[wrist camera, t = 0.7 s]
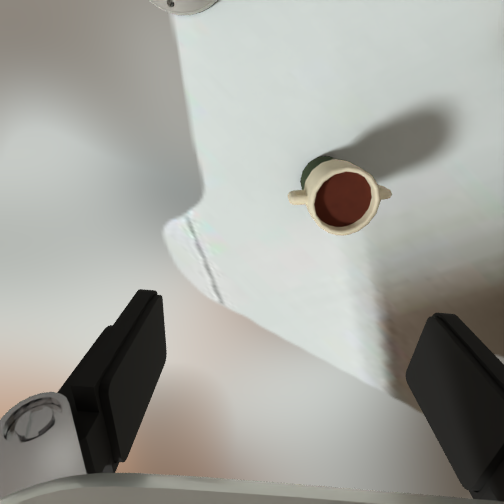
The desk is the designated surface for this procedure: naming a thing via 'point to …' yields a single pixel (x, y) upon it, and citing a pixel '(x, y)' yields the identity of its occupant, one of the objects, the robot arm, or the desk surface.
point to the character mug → (339, 195)
